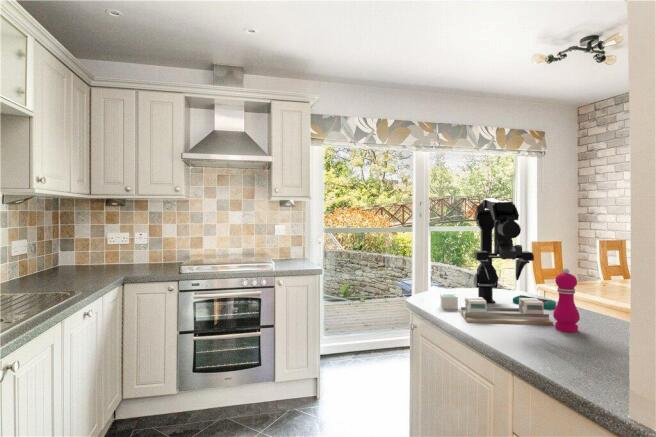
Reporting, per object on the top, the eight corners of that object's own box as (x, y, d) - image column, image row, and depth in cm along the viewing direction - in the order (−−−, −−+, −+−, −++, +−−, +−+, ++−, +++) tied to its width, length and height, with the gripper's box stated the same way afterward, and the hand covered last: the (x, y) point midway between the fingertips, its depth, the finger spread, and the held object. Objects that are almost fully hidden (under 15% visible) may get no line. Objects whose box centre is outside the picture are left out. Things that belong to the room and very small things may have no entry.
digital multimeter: (549, 310, 145) (549, 303, 145) (511, 303, 157) (511, 296, 157) (557, 307, 149) (557, 300, 149) (520, 301, 161) (520, 294, 161)
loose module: (440, 305, 154) (440, 293, 154) (455, 306, 153) (455, 293, 153) (442, 309, 149) (442, 296, 149) (457, 309, 148) (457, 296, 148)
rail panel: (459, 311, 145) (459, 294, 145) (536, 313, 140) (536, 296, 140) (467, 322, 131) (466, 303, 131) (553, 324, 126) (552, 305, 126)
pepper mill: (571, 334, 116) (571, 270, 116) (548, 328, 123) (548, 268, 122) (584, 330, 120) (584, 269, 119) (561, 324, 126) (561, 266, 126)
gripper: (479, 238, 126) (480, 283, 127) (539, 238, 123) (539, 284, 123) (473, 235, 137) (474, 277, 138) (528, 235, 134) (528, 278, 134)
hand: (503, 279), depth 133 cm, fingers open, 9 cm apart
